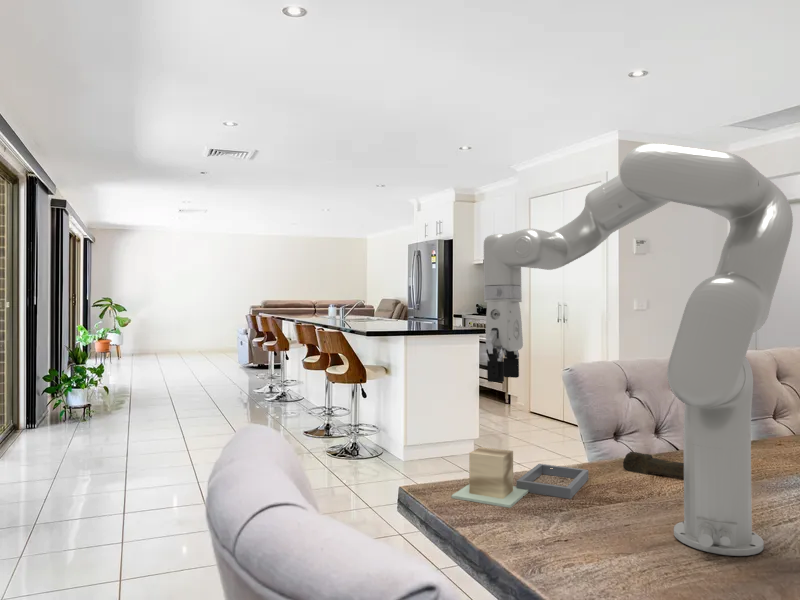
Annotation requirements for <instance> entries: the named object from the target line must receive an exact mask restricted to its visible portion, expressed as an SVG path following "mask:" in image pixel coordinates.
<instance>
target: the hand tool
mask: <svg viewBox="0 0 800 600" xmlns="http://www.w3.org/2000/svg"><path fill="white" fill-rule="evenodd" d="M652 455H653V454H649V453H648V454H647V453H642V452H639V451H638V452H636V451H629V452H628V453H626V455H625V457H624V459H623V462H622V463H623V464H622V467H623V469H624V470H627V471H629V472H632V473H636V474H642V475H647V474H648V475H652V474H656V475H664V476H671V477H674V478H675V477H676V478H681V479H684V462H679V461H673V460H667V459H661V458H656V457H653V456H652Z"/></svg>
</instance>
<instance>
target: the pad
mask: <svg viewBox="0 0 800 600" xmlns="http://www.w3.org/2000/svg"><path fill="white" fill-rule="evenodd" d="M526 495H528V490H525V489H519V488H516V485H513V491H512V492H511V493H510V494H509V495H507V496H506V497H505V498H504V499H501V498H495V497H489V496H483V495H477V494H471V493H469V484H467V485H465V486H463V487H462V488H460V489H459V490H457V491H456V492H454V493H453V494H451V499H456V500H462V501H468V502H475V503H480V504H484V505H491V506H496V507H497V506H498V507H502V508H503V507H504V508H509V509H511V508H512V507H513V506H514V505H515V504H516V503H518V502H519V501H520V500H521V499H522V498H524V497H525V496H526ZM523 496H524V497H523Z"/></svg>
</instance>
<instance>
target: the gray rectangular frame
mask: <svg viewBox="0 0 800 600" xmlns="http://www.w3.org/2000/svg"><path fill="white" fill-rule="evenodd" d="M550 468H553V469H550ZM542 473H543V474H542ZM541 474H542V475H545V474H546V476H554V477H561V478H569V479H573V480H571V481H570V482H569V484H567V486H564V485H563V486H562V485H558V484H550V483H544V482H536V478H537V477H538V478H539V477H540V476H542V475H541ZM538 478H537V479H538ZM588 480H589V470H588V469H584V468H576V467H575V468H574V467H569V466H568V467H566V466H561V465H552V464H546V463H537V464H536V465H535V466H534V467H532V468H531V469H530V470H529V471H527V472H526V473H525V474H523V475H522V476H520V477H519V478H518V479H517V480H515V483H516V485H515V487H516V488H519V489H525V490H528V492H530V493H529V494H536V495H541V496H548V497H555V498H562V499H569V500H571V499H572V498H573V497H575V495H576V494H577V493H578V492H579V490H580V489H581V488H582V487H583V486H584V485H585V484H586V483H587V481H588Z"/></svg>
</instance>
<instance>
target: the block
mask: <svg viewBox="0 0 800 600" xmlns="http://www.w3.org/2000/svg"><path fill="white" fill-rule="evenodd" d="M468 462H469V464H468V465H469V467H468V468H469V469H468V470H469V484H468V485H469V493H471V494H477V495H483V496H489V497H495V498H501V499H504V498H505V497H506V496H507V495H509V494H510V493H511V492H512V491H513V486H514V450H510V449H509V450H508V449H501V448H492V447H491V448H490V447H484V446H480V447H478V448H476V449H474V450H472V451H470V452H469V461H468Z"/></svg>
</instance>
